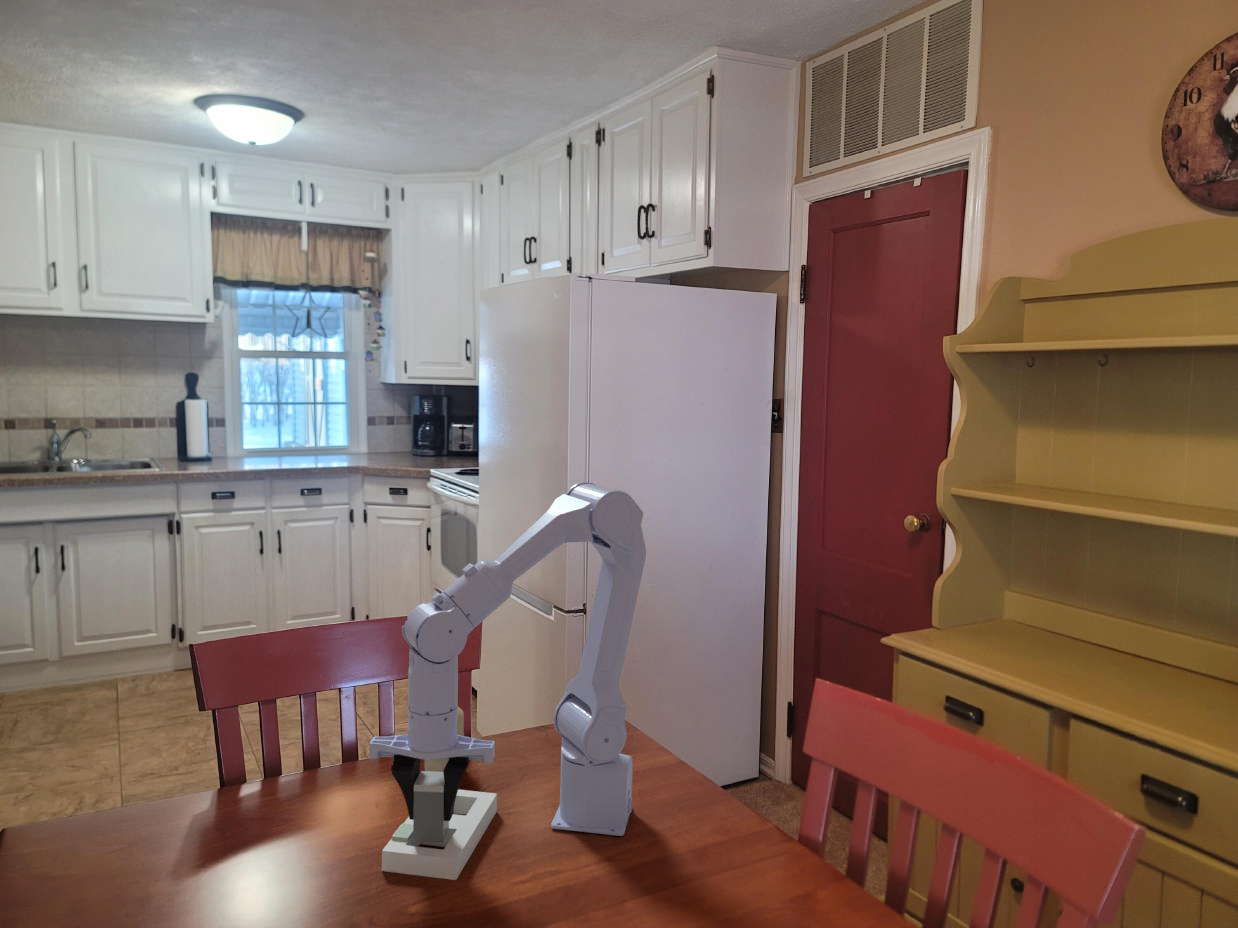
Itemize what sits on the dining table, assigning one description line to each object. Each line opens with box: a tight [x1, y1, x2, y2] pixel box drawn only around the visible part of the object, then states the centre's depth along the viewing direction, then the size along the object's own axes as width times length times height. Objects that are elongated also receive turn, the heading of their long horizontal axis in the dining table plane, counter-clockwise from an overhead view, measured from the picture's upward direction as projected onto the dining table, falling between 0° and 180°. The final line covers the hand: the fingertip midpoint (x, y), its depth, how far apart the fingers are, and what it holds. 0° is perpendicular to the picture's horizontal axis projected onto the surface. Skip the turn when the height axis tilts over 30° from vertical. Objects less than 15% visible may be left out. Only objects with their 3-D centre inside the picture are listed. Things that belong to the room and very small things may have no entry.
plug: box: [413, 770, 449, 843], centre depth 104 cm, size 4×4×7 cm
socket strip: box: [381, 788, 498, 881], centre depth 108 cm, size 9×16×3 cm, turn 171°
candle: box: [424, 706, 465, 772], centre depth 126 cm, size 6×6×10 cm
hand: (431, 815), depth 104 cm, fingers closed on plug, 3 cm apart
